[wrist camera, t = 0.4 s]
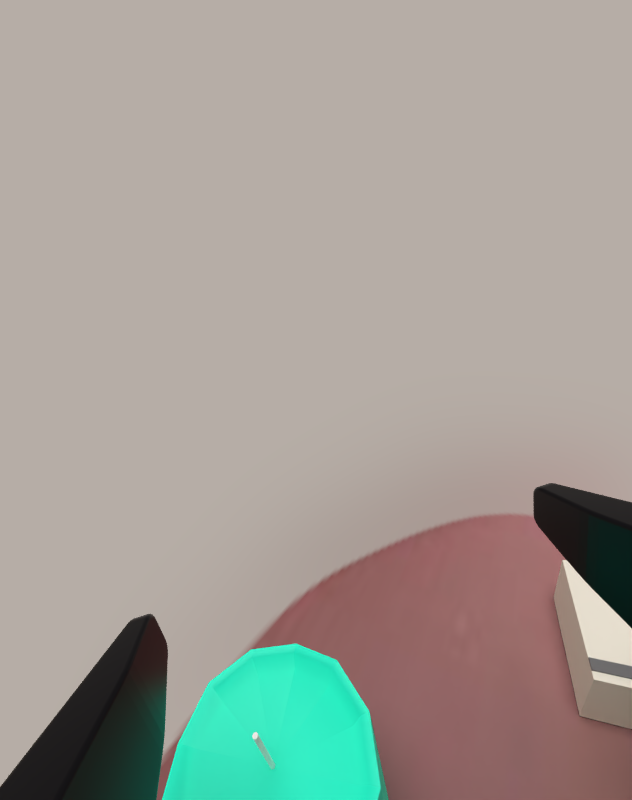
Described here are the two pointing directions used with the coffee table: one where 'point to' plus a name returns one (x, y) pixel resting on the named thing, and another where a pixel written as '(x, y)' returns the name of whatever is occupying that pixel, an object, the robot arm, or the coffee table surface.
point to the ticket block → (595, 650)
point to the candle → (278, 734)
